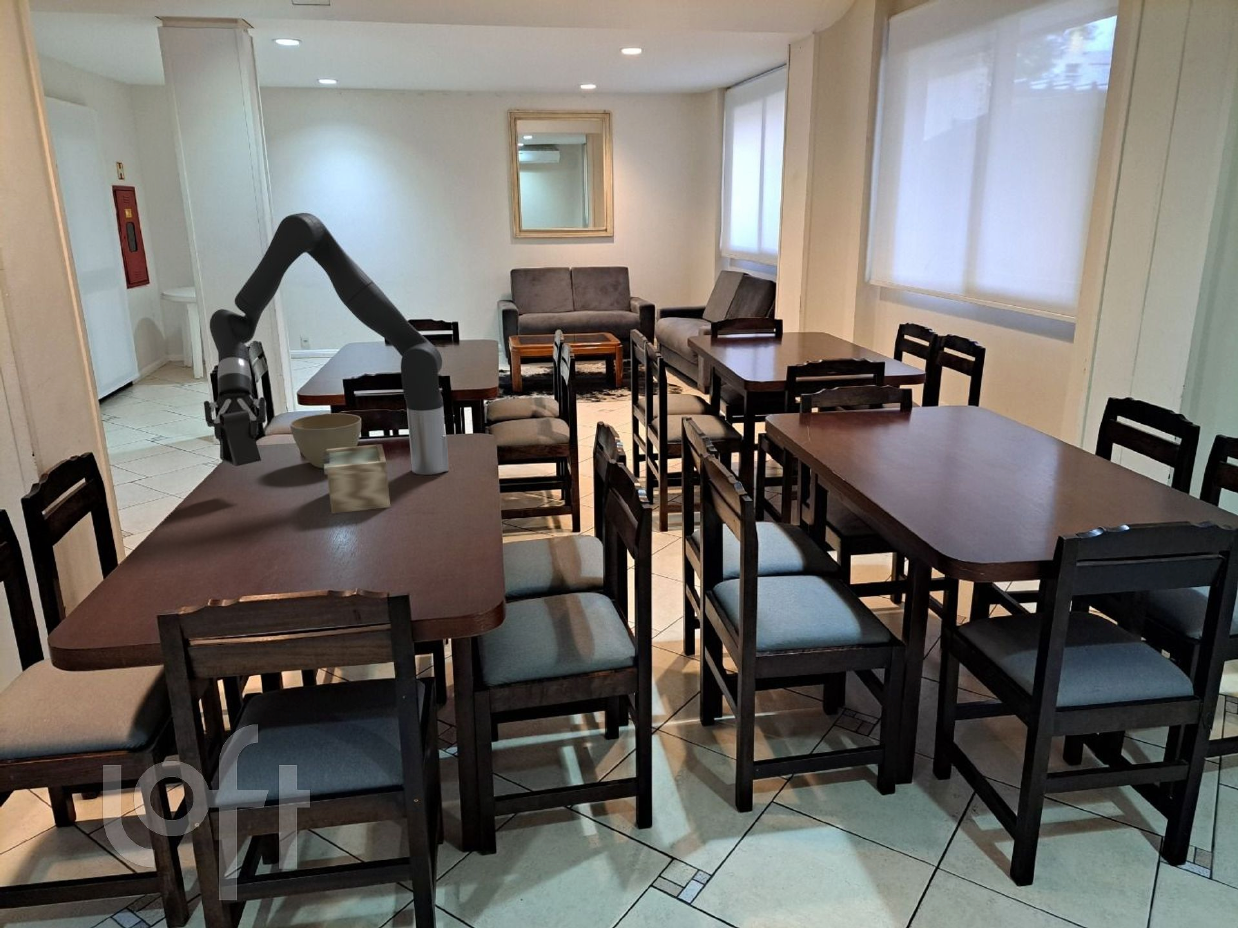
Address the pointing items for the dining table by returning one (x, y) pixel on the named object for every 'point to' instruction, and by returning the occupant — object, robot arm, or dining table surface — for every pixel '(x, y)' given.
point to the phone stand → (237, 439)
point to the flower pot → (325, 434)
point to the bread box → (357, 478)
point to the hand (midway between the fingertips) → (236, 438)
